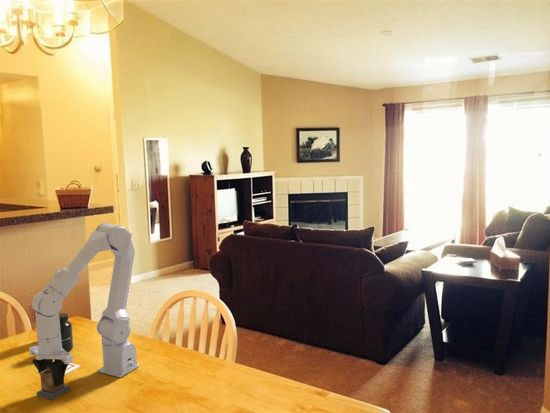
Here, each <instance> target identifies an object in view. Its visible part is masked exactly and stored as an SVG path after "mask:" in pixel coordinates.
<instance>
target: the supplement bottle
mask: <svg viewBox="0 0 550 413" xmlns="http://www.w3.org/2000/svg"><path fill="white" fill-rule="evenodd" d="M68 314H69V313H66V312H65V313H64V312H62V313H61V312H60V313H59V320H60V332H61V344H62V348H63V349H64V350H65V351H67V352H68V353H69V352H70V351H72V350H73V349H74V340H73V339H74V337H73V335H74V334H73V324H72V322H71V321H69V315H68Z"/></svg>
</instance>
